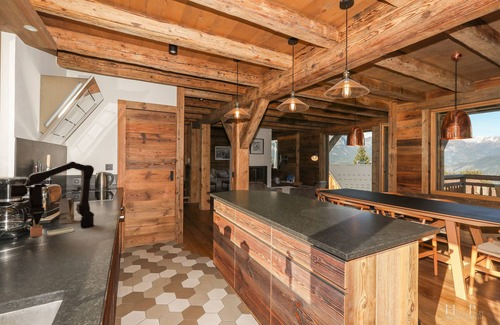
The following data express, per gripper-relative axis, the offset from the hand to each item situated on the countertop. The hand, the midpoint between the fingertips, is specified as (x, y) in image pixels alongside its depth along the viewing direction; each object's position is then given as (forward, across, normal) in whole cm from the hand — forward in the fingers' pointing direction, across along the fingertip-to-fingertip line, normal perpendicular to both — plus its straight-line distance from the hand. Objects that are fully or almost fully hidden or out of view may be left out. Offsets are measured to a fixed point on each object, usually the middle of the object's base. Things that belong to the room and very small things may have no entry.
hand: (36, 222), depth 135 cm
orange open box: (+7, 0, 0) cm, 7 cm away
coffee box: (+8, -24, +16) cm, 30 cm away
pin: (+7, 0, 0) cm, 7 cm away
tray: (+7, +3, +10) cm, 13 cm away
